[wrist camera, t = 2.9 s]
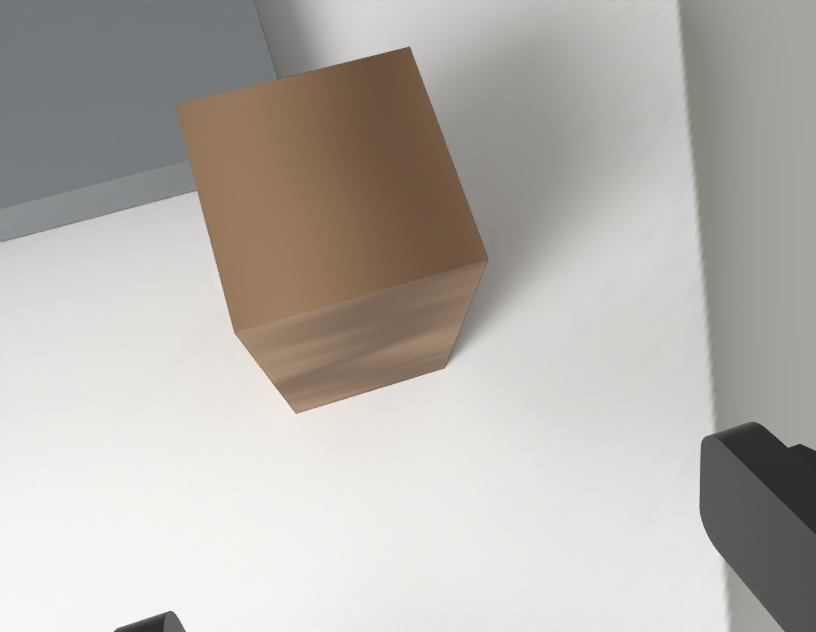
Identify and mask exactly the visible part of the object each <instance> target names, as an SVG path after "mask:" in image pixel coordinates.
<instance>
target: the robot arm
mask: <svg viewBox="0 0 816 632" xmlns="http://www.w3.org/2000/svg"><path fill="white" fill-rule="evenodd" d="M700 515H701V519H702V522H703V525H704V528H705V530H706V533H707V535H708V537H709V538H710V540H711V542H712V543H713V545H714V547H715V548H716V549H717V550H718V552H719V553H720V554H721V555H722V557H723V558H724V559H725V560H726V561H727V563H728V564H729V565H730V566H731V567H732V568H733V570H734V571H735V572H736V573H737V574H738V576H739V577H740V578H741V579H742V581H743V582H744V583H745V584H746V585H747V586H748V588H749V589H750V590H751V591H752V593H753V594H754V595H755V596H756V597H757V599H758V600H759V601H760V602H761V603H762V605H763V606H764V607H765V608H766V609H767V611H768V612H769V613H770V614H771V615H772V617H773V618H774V619H775V620H776V621H777V623H778V624H779V625H780V626H781V628H782V629H783V630H784V631H785V632H816V451H815V450H812V449H810V448H808V447H806V446H803V445H801V444H799V445H796V446H793V447H790V448H788V447H786V446H785V445H784V444H783V443H782V442H781V441H779V440H778V439H777V438H776V437H775V436H774V435H773V434H771V433H770V432H769V431H768V430H767V429H766V428H764V427H763V426H762V425H760V424H758V423H756V422H749V423H746V424H743V425H739V426H736V427H733V428H730V429H728V430H725V431H721V432H718V433H715V434H712V435H709V436H706V437H705V438H704V439H703V440H702V443H701V462H700ZM114 632H186V631H185V630H184V628H183V626H182V624H181V622H180V620H179V619H178V617H177V615H176V614H175V613H174V612H172V611H169V612H166V613H162V614H159V615H156V616H153V617H150V618H147V619H144V620H141V621H138V622H135V623H132V624H129V625H126V626H123V627H120V628H117V629H116V630H115V631H114Z"/></svg>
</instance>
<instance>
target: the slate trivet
mask: <svg viewBox="0 0 816 632" xmlns="http://www.w3.org/2000/svg"><path fill="white" fill-rule="evenodd" d="M274 80H278V77H277V74H276V71H275V68H274V64H273V61H272V58H271V55H270V51H269V48H268V45H267V42H266V38H265V35H264V32H263V29H262V25H261V22H260V19H259V16H258V12H257V9H256V6H255V3H254V0H0V242H3V241H7V240H11V239H14V238H18V237H22V236H26V235H30V234H33V233H37V232H41V231H45V230H49V229H52V228H56V227H60V226H64V225H68V224H71V223H75V222H79V221H83V220H86V219H90V218H94V217H98V216H102V215H105V214H109V213H113V212H117V211H121V210H124V209H128V208H132V207H136V206H140V205H143V204H147V203H151V202H155V201H159V200H162V199H166V198H170V197H174V196H177V195H181V194H185V193H189V192H193V191H196V190H197V187H196V184H195V180H194V176H193V172H192V168H191V164H190V161H189V157H188V153H187V149H186V145H185V141H184V137H183V134H182V130H181V126H180V122H179V118H178V114H177V111H176V107H175V105H177V104H181V103H185V102H189V101H193V100H197V99H201V98H205V97H209V96H213V95H217V94H221V93H225V92H229V91H233V90H237V89H241V88H246V87H250V86H254V85H258V84H262V83H266V82H270V81H274Z"/></svg>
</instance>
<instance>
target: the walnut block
mask: <svg viewBox="0 0 816 632" xmlns="http://www.w3.org/2000/svg"><path fill="white" fill-rule="evenodd" d="M175 107H176V111H177V114H178V118H179V122H180V126H181V130H182V134H183V137H184V141H185V145H186V149H187V153H188V157H189V161H190V164H191V168H192V172H193V176H194V180H195V184H196V187H197V191H198V195H199V199H200V203H201V207H202V210H203V214H204V218H205V222H206V226H207V230H208V233H209V237H210V241H211V245H212V249H213V253H214V256H215V260H216V264H217V268H218V272H219V276H220V279H221V283H222V287H223V291H224V295H225V299H226V302H227V306H228V310H229V314H230V318H231V322H232V326H233V329H234V333H235V334H236V336H237V337H238V338H239V340H240V341H241V342H242V343H243V345H244V346H245V347H246V349H247V350H248V351H249V353H250V354H251V355H252V357H253V358H254V359H255V361H256V362H257V363H258V365H259V366H260V367H261V368H262V370H263V371H264V372H265V374H266V375H267V376H268V378H269V379H270V380H271V382H272V383H273V384H274V386H275V387H276V388H277V390H278V391H279V392H280V394H281V395H282V396H283V397H284V399H285V400H286V401H287V403H288V404H289V405H290V407H291V408H292V409H293V411H294V412H295V413H296V414H297V413H300V412H303V411H307V410H310V409H313V408H317V407H320V406H323V405H326V404H330V403H333V402H336V401H339V400H343V399H346V398H349V397H352V396H356V395H359V394H362V393H365V392H369V391H372V390H375V389H379V388H382V387H385V386H388V385H392V384H395V383H398V382H401V381H405V380H408V379H411V378H414V377H418V376H421V375H424V374H428V373H431V372H434V371H437V370H441V369H444V368H445V366H446V363H447V361H448V358H449V356H450V353H451V351H452V348H453V346H454V343H455V341H456V338H457V336H458V333H459V331H460V328H461V326H462V323H463V321H464V318H465V316H466V314H467V311H468V309H469V306H470V304H471V301H472V299H473V296H474V294H475V291H476V289H477V286H478V284H479V281H480V279H481V276H482V274H483V271H484V269H485V266H486V264H487V261H488V257H487V254H486V251H485V249H484V246H483V243H482V241H481V238H480V235H479V233H478V230H477V227H476V224H475V222H474V219H473V216H472V214H471V211H470V208H469V205H468V203H467V200H466V197H465V195H464V192H463V189H462V187H461V184H460V181H459V178H458V176H457V173H456V170H455V168H454V165H453V162H452V159H451V157H450V154H449V151H448V149H447V146H446V143H445V141H444V138H443V135H442V132H441V130H440V127H439V124H438V122H437V119H436V116H435V113H434V111H433V108H432V105H431V103H430V100H429V97H428V95H427V92H426V89H425V86H424V84H423V81H422V78H421V76H420V73H419V70H418V68H417V65H416V62H415V59H414V57H413V54H412V51H411V49H410V47H406V48H402V49H398V50H394V51H390V52H386V53H382V54H378V55H374V56H370V57H366V58H362V59H358V60H354V61H350V62H346V63H342V64H338V65H334V66H330V67H326V68H322V69H318V70H314V71H310V72H306V73H302V74H298V75H294V76H290V77H286V78H282V79H278V80H274V81H270V82H266V83H262V84H258V85H254V86H250V87H246V88H241V89H237V90H233V91H229V92H225V93H221V94H217V95H213V96H209V97H205V98H201V99H197V100H193V101H189V102H185V103H181V104H177V105H175Z"/></svg>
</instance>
